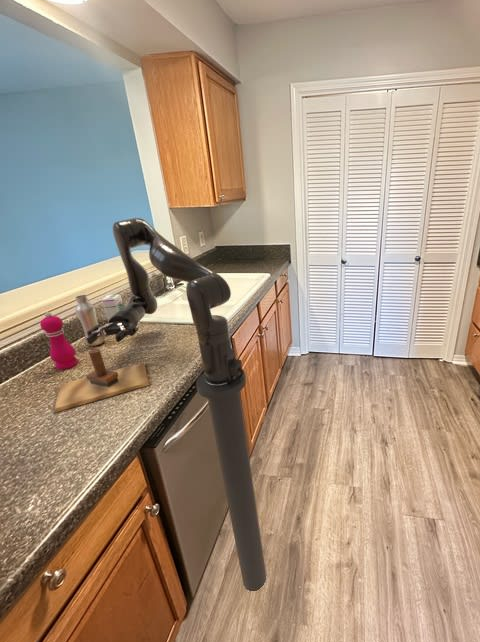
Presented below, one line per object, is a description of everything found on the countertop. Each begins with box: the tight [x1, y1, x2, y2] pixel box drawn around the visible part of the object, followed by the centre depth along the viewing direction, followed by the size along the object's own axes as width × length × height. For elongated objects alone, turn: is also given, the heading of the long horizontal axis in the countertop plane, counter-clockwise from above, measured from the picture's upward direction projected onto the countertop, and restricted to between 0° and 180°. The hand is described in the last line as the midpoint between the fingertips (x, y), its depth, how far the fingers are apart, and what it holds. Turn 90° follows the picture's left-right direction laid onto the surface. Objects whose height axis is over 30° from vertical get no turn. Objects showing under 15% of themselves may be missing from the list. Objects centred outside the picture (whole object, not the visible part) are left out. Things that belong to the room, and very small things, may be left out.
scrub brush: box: [85, 348, 118, 387], centre depth 98 cm, size 8×4×11 cm, turn 71°
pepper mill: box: [39, 311, 78, 371], centre depth 110 cm, size 7×7×20 cm
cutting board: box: [54, 362, 150, 413], centre depth 100 cm, size 24×14×1 cm, turn 119°
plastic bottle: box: [75, 294, 105, 347], centre depth 125 cm, size 6×7×20 cm
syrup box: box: [101, 293, 125, 323], centre depth 141 cm, size 6×6×14 cm
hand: (103, 340), depth 100 cm, fingers open, 8 cm apart
